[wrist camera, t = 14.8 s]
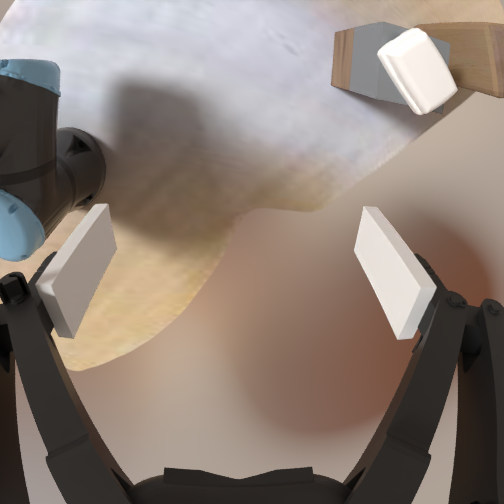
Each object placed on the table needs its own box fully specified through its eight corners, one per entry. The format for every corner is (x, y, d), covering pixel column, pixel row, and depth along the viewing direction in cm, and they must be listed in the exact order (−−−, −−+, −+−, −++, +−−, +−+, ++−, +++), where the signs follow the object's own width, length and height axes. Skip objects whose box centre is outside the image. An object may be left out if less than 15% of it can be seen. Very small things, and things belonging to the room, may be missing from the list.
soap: (453, 89, 28) (467, 93, 26) (415, 118, 31) (427, 124, 28) (415, 24, 24) (429, 22, 22) (372, 52, 27) (383, 52, 24)
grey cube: (349, 90, 37) (375, 99, 29) (354, 27, 32) (382, 21, 25) (407, 101, 37) (441, 113, 30) (413, 42, 33) (450, 43, 25)
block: (464, 75, 42) (541, 97, 25) (422, 79, 43) (499, 100, 26) (454, 24, 36) (533, 28, 20) (410, 25, 38) (487, 22, 21)
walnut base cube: (330, 85, 44) (349, 90, 37) (334, 32, 40) (354, 27, 32) (382, 93, 45) (407, 101, 37) (387, 43, 40) (413, 42, 33)
